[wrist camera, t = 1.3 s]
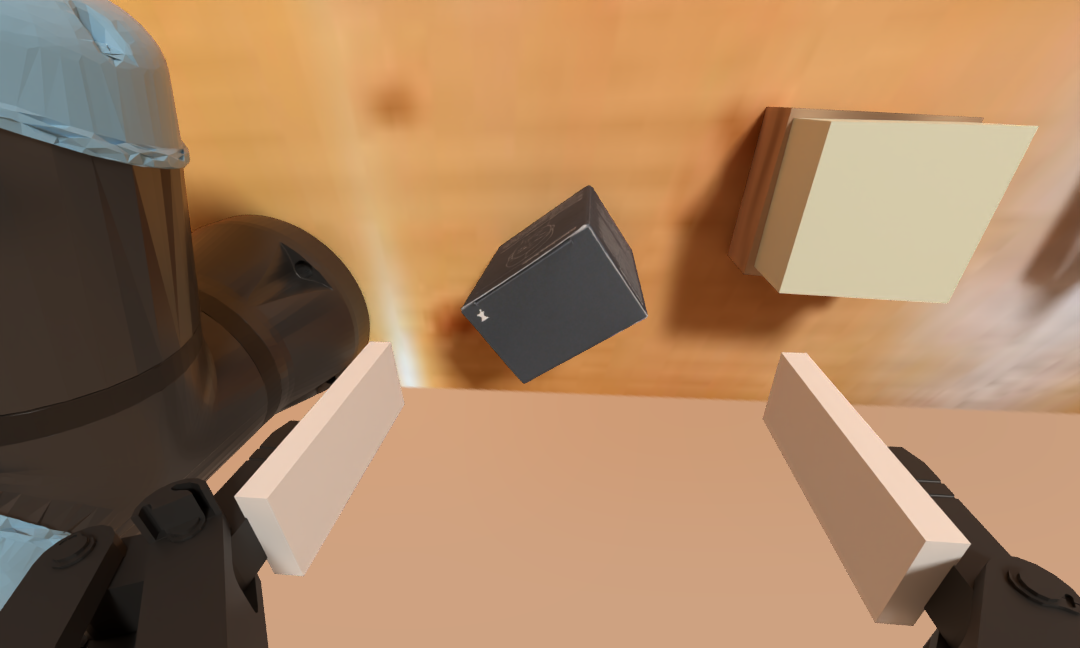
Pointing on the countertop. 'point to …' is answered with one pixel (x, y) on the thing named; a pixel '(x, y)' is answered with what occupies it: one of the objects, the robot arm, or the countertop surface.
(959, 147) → the tower top
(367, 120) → the countertop surface
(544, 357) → the box
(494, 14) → the countertop surface
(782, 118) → the tower base
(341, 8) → the countertop surface
